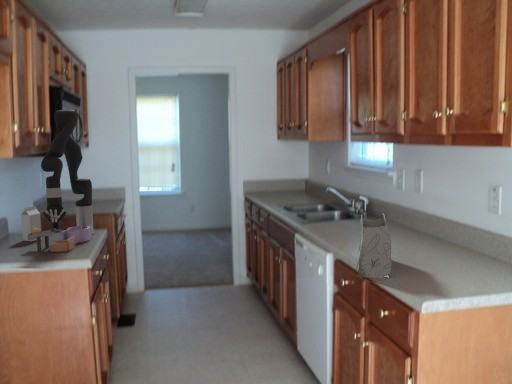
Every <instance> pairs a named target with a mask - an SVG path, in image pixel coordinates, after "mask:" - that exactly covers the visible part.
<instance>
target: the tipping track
mask: <svg viewBox="0 0 512 384" xmlns="http://www.w3.org/2000/svg"><path fill="white" fill-rule="evenodd" d="M61 231H63V230H62V228H58V229H56V228H53V227H52V228H50V229H46V230H41V231H40V233H36V234H32V233H30V234H28V236H27V237H28V240H32V239H37V237H42V238H45V236H48V237H49V236H53V235H54V234H56V233H59V232H60V233H61Z"/></svg>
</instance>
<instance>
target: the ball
mask: <svg viewBox="0 0 512 384" xmlns="http://www.w3.org/2000/svg"><path fill="white" fill-rule="evenodd" d="M31 233H32V234H36V233H40V231H39V229H37V228H34V229H33V230H32V232H31Z"/></svg>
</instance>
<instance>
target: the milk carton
mask: <svg viewBox="0 0 512 384" xmlns="http://www.w3.org/2000/svg"><path fill="white" fill-rule="evenodd" d="M20 216H21V227H22V228H21V230H22V241H24V242H35V241H36V242H37V239H32V240H28V237H27V236H28V234H30V233H31V232H32V230H33V229H34V228H37V229H39V231H42V220H41V213H40V211H39V210H38V208H37V206H35V205H34V206H28V207H24V210H23V211H22V213H21V215H20ZM42 239H43V237H41V240H42Z"/></svg>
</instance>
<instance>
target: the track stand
mask: <svg viewBox="0 0 512 384" xmlns="http://www.w3.org/2000/svg"><path fill="white" fill-rule="evenodd" d="M49 239H50V238H49V236H45V237H44V246H45V249H50V243H49ZM36 247H37V248H36V249H37V250H36V251H37V253H41V252H42V239H41V237H37V240H36Z"/></svg>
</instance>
